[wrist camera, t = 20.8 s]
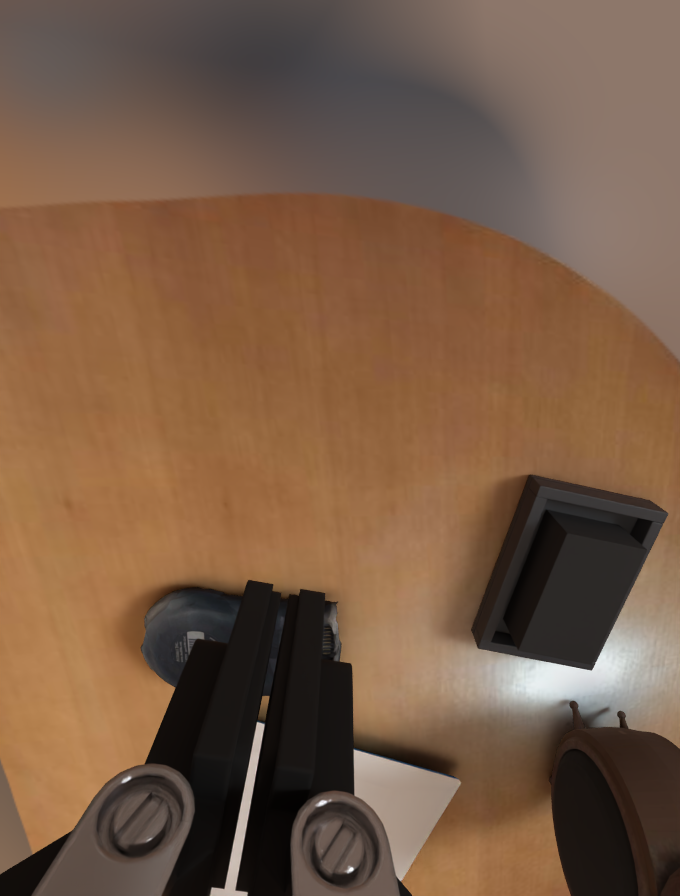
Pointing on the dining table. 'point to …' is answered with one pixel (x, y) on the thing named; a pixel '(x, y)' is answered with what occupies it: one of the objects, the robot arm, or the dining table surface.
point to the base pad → (535, 500)
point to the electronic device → (212, 630)
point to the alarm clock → (617, 811)
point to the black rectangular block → (572, 586)
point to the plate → (385, 790)
